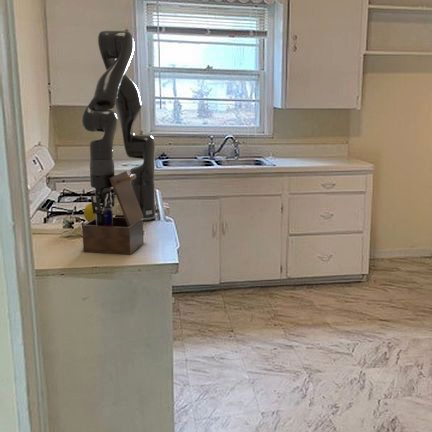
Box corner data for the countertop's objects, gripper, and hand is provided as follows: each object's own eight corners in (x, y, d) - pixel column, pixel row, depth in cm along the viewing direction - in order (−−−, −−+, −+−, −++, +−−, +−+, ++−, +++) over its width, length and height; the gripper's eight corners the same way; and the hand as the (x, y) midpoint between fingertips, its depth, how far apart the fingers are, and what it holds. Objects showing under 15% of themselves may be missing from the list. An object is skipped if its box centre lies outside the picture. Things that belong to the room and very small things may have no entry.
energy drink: (108, 247, 188) (107, 211, 185) (94, 246, 189) (92, 210, 186) (116, 243, 193) (115, 208, 190) (102, 241, 194) (100, 207, 191)
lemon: (96, 225, 217) (95, 205, 215) (82, 225, 217) (81, 204, 215) (101, 222, 222) (100, 202, 220) (87, 221, 222) (86, 201, 220)
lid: (109, 178, 179) (123, 173, 178) (124, 171, 191) (137, 167, 190) (128, 226, 182) (142, 222, 181) (141, 217, 194) (155, 213, 193)
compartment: (83, 251, 185) (82, 225, 183) (99, 240, 197) (98, 216, 195) (130, 254, 184) (129, 227, 182) (143, 243, 196) (142, 218, 194)
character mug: (126, 235, 205) (125, 200, 202) (107, 234, 205) (105, 199, 202) (136, 227, 215) (135, 194, 212) (118, 226, 216) (116, 193, 213)
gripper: (100, 168, 192) (102, 217, 196) (81, 175, 178) (84, 227, 182) (121, 169, 192) (123, 218, 196) (104, 176, 178) (106, 229, 182)
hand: (104, 222), depth 189 cm, fingers closed on energy drink, 5 cm apart
